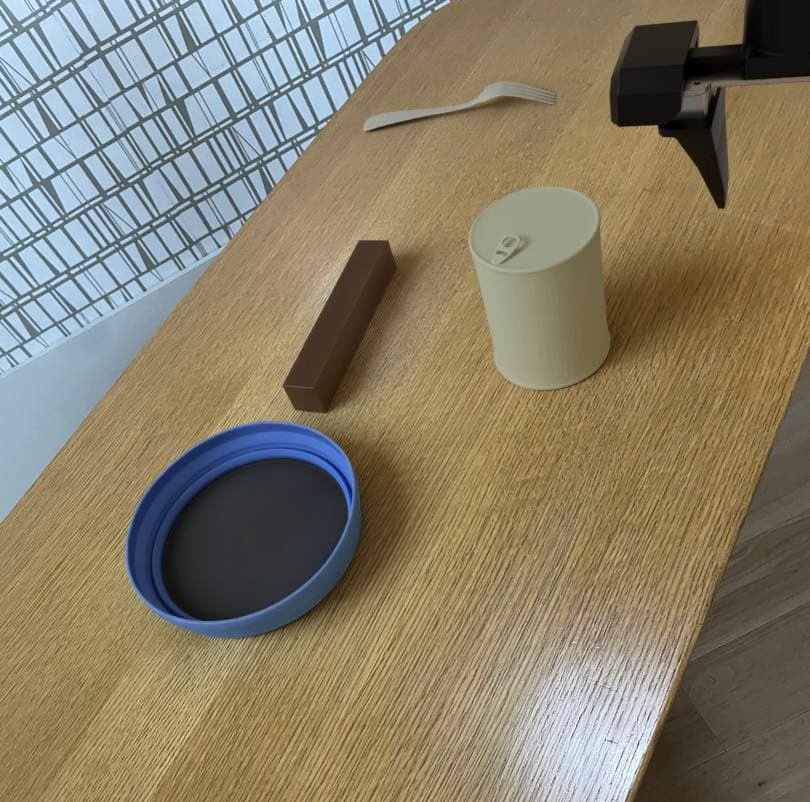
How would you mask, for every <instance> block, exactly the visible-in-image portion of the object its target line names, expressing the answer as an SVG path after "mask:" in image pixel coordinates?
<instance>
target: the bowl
mask: <svg viewBox="0 0 810 802" xmlns="http://www.w3.org/2000/svg"><path fill="white" fill-rule="evenodd" d="M359 485H360V484H359V480H358V477H357V473H356V471H355V469H354V467H353V464H352V462H351V460H350V459H349V457H348V456H347V454H346V452H345V451H344V450H343V448H341V446H340V445H339V444H338V443H336V441H335V440H334V439H332V438H331V437H330V436H328V435H327V434H325V433H324V432H322V431H320V430H318V429H315V428H313V427H311V426H308V425H304V424H300V423H297V422H296V423H295V422H292V421H291V422H289V421H280V420H260V421H253V422H247V423H244V424H243V423H242V424H239V425H236V426H232V427H230V428H226V429H223V430H222V431H219V432H217V433H214V434H213V435H211V436H209V437H207V438H205V439H203V440H201V441H199V442H197V443H196V444H195V445H193V446H192V447H190V448H189V449H187V450H186V451H184V453H183V452H182V454H181V455H179V456H178V457H177V458H176V459H174V460H173V461H172V462H171V463H170V464H169V465H168V466H167V467H166V468H165V469H163V471H162V472H160V474H159V475H158V476H157V478H156V479H154V480H153V482H152V483H151V484H150V485H149V487H148V488H147V489H146V491H145V492H144V494H143V496H142V497H141V498H140V500H139V502H138V503H137V506H136V508H135V510H134V513H133V514H132V517H131V520H130V523H129V526H128V530H127V534H126V538H125V539H126V540H125V551H124V552H125V557H124V558H125V567H126V572H127V576H128V579H129V581H130V584H131V586H132V588H133V590H134V591H135V593H136V594H137V595H138V597H139V598H140V600H142V602H143V603H144V604H145V605H146V606H147V608H149V609H150V610H151V611H152V612H153V613H154V614H156V615H157V616H159V617H160V618H162V619H163V620H165V621H167V622H169V623H172V624H173V625H175V626H176V627H177V626H178V627H180V628H183V629H184V630H185V629H186V630H188V631H191V632H193V633H196V634H198V635H201V636H202V635H203V636H206V637H209V638H210V637H211V638H218V639H240V638H248V637H253V636H258V635H261V634H265V633H268V632H272V631H274V630H278V629H279V628H281V627H285V626H286V625H289V624H290V623H291V622H294V621H295V620H298V619H299V618H300V617H303V616H304V615H305V614H306V613H308V612H309V611H310V610H311V609H313V608H314V607H316V606H317V605H318V604H319V603H320V602H322V601H323V600H324V598H326V597H327V596H328V595H329V593H330V592H331V591H332V590H333V589H334V588H335V587H336V585H337V584H338V583H339V581H340V580H341V579H342V577H343V576H344V574H345V572H346V571H347V569H348V568H349V566H350V565H351V562H352V560H353V557H354V555H355V553H356V550H357V547H358V544H359V541H360V537H361V529H362V509H361V494H360V493H361V492H360V486H359Z"/></svg>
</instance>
